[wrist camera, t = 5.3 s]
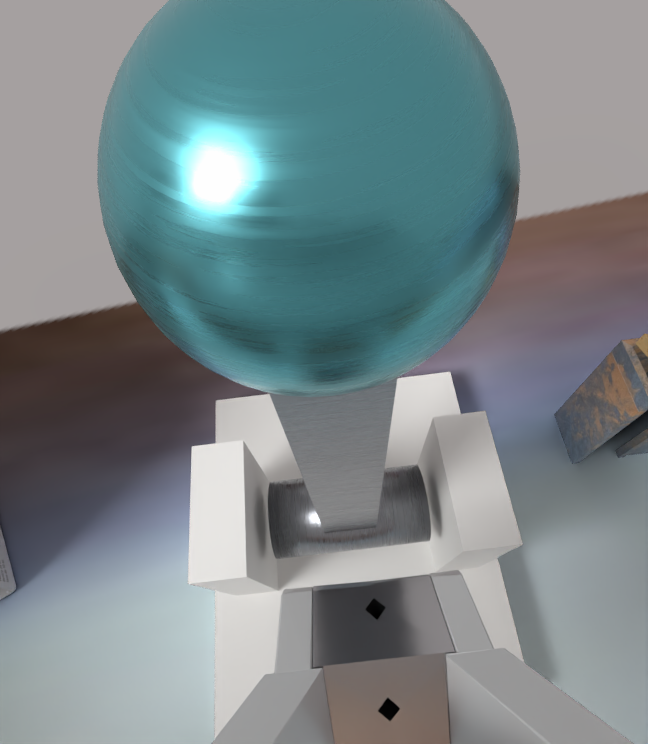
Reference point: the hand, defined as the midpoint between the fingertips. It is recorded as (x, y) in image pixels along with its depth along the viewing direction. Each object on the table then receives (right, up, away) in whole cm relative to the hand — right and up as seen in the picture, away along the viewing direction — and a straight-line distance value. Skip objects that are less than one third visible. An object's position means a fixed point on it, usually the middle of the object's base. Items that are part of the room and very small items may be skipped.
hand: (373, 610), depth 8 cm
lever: (0, -2, +11) cm, 11 cm away
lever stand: (0, -3, +14) cm, 15 cm away
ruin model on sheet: (+17, +1, +16) cm, 23 cm away
